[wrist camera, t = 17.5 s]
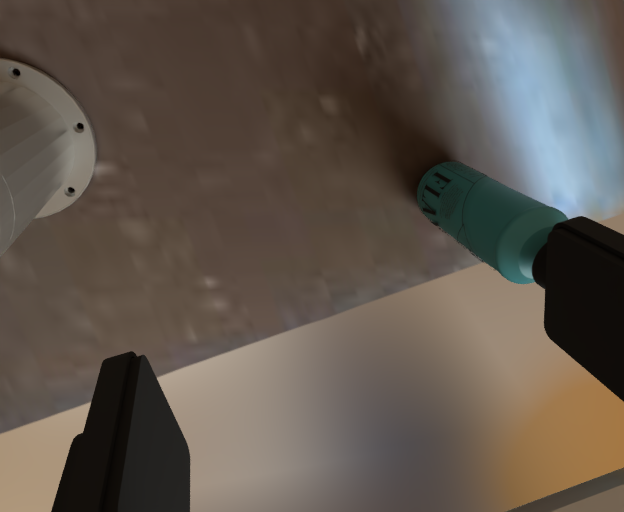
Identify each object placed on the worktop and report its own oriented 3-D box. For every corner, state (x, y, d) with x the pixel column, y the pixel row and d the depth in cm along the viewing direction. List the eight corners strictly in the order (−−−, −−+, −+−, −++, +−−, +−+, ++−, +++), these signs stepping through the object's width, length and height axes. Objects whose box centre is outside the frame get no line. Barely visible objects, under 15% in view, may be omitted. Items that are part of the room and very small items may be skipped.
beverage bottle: (417, 151, 46) (557, 223, 28) (475, 160, 48) (640, 233, 30) (400, 213, 49) (519, 315, 31) (456, 219, 50) (598, 319, 33)
